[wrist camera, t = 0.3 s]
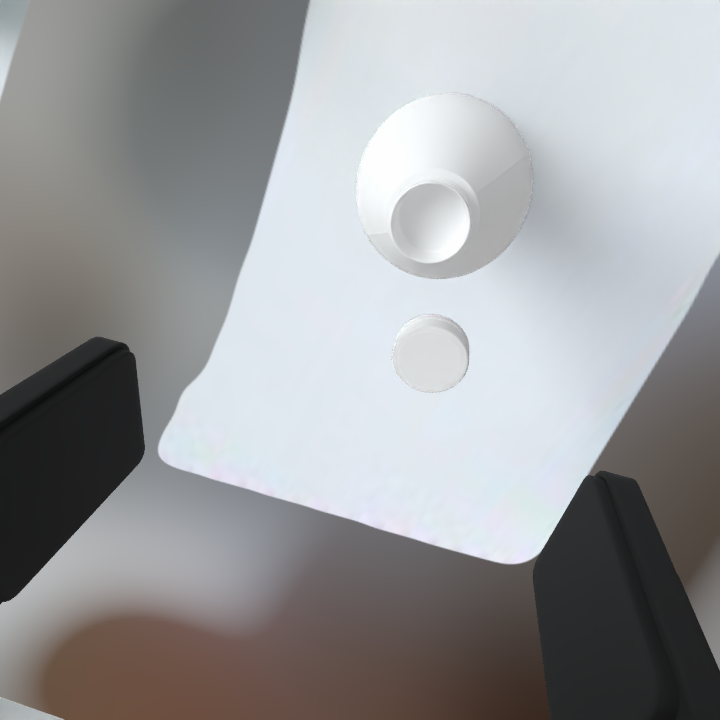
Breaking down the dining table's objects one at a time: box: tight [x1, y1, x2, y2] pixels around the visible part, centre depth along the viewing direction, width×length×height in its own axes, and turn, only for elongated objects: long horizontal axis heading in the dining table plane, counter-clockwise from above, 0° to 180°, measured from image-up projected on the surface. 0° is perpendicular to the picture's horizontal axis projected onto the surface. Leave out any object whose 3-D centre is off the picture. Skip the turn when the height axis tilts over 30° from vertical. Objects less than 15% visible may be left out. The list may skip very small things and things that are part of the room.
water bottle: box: [356, 93, 533, 393], centre depth 24 cm, size 9×6×25 cm
